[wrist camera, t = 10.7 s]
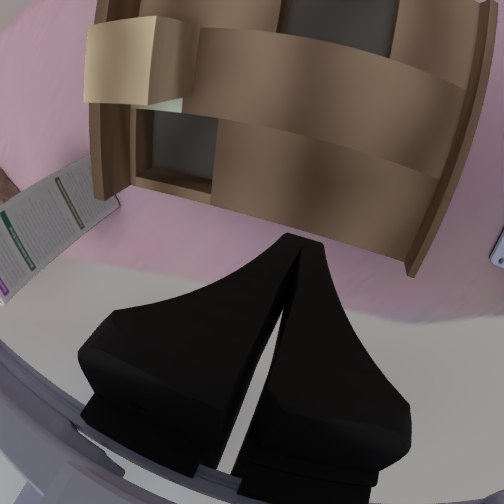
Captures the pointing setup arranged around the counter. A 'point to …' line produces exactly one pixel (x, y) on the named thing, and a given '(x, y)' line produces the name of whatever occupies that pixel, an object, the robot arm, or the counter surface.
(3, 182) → the brick
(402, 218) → the trap board
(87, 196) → the syrup box
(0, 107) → the counter surface
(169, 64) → the maple block
